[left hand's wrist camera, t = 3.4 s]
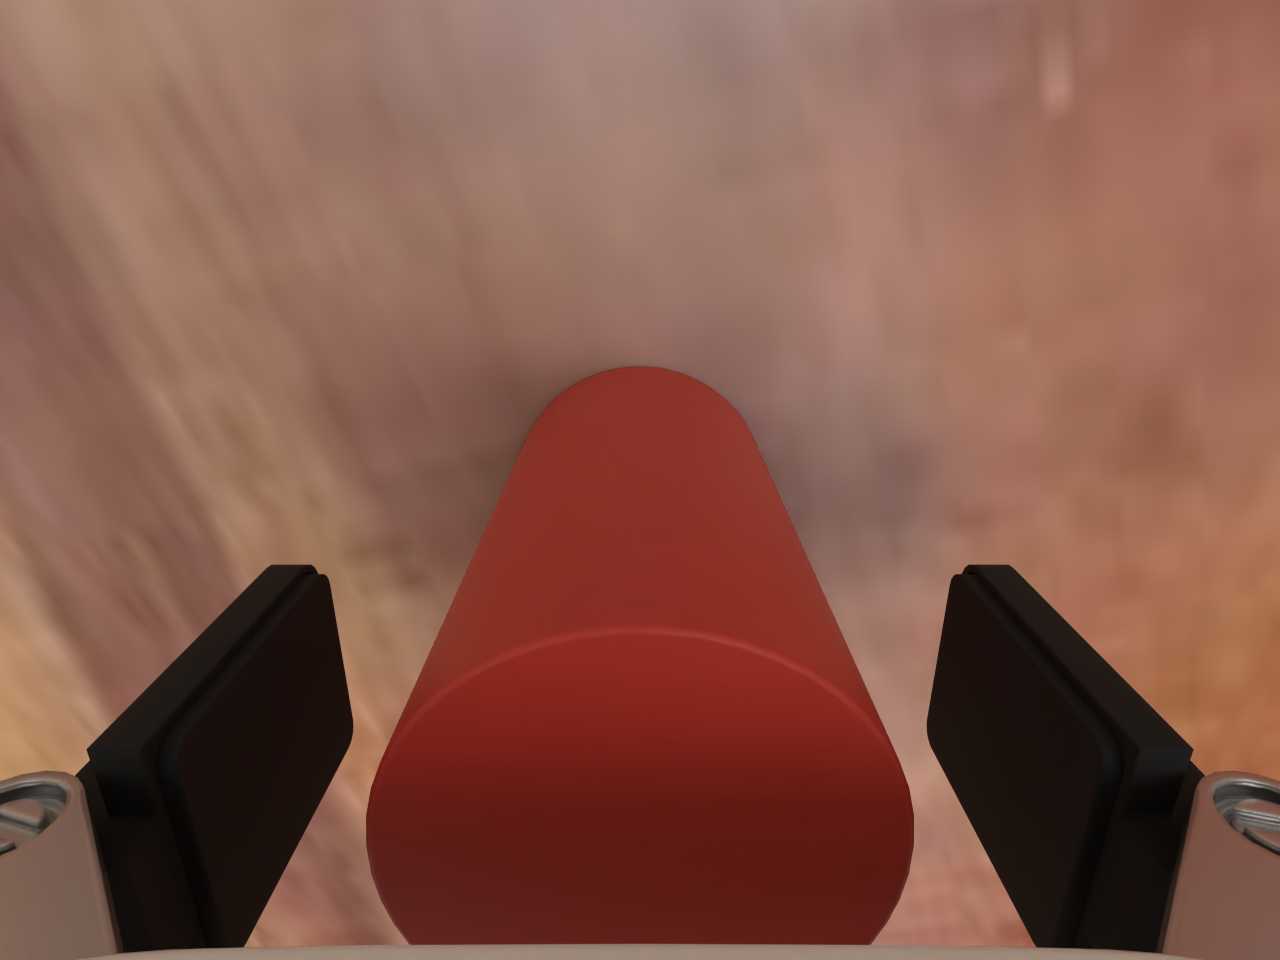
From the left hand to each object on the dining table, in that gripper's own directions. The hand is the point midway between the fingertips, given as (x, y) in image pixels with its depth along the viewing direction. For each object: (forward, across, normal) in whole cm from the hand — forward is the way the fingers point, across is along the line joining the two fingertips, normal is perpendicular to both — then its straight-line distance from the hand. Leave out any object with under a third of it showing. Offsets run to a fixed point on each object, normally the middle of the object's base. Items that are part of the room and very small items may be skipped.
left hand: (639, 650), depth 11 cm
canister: (+6, 0, 0) cm, 6 cm away
